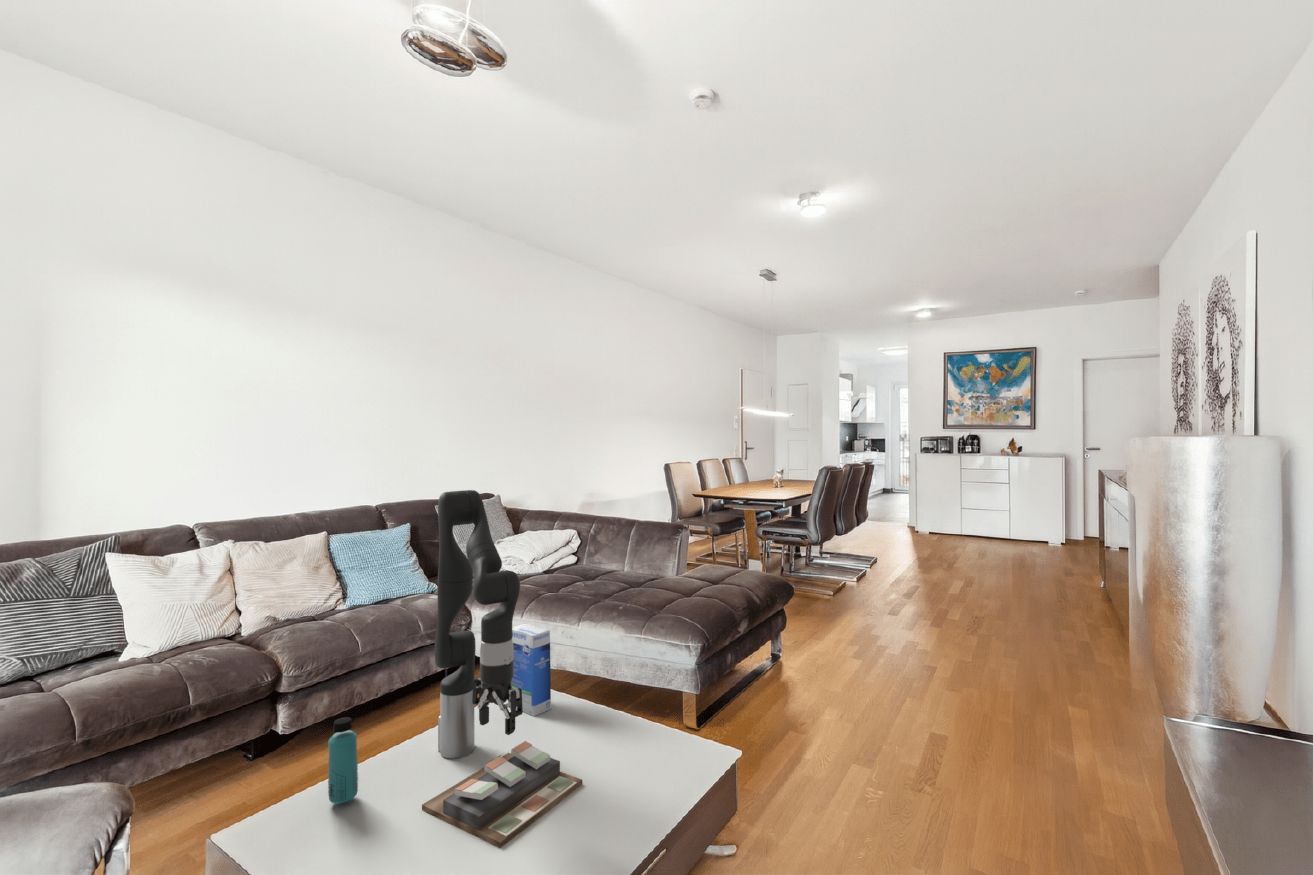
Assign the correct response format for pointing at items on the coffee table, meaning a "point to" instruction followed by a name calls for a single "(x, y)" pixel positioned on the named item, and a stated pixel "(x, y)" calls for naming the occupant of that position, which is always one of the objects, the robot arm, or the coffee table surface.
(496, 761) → the switch
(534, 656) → the string lights box
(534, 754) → the switch
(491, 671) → the robot arm
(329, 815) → the coffee table surface
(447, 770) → the coffee table surface
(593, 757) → the coffee table surface
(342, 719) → the beverage bottle
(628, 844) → the coffee table surface
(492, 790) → the switch
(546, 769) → the switch unit
